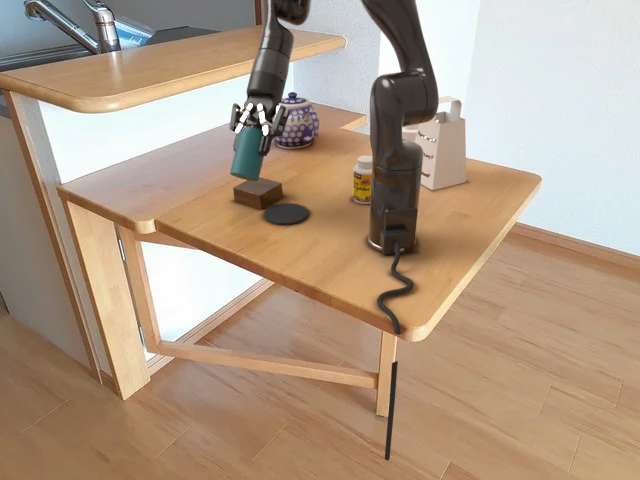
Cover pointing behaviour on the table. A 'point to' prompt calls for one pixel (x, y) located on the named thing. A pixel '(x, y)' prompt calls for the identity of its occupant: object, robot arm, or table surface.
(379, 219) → the robot arm
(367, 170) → the supplement bottle
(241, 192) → the walnut block
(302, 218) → the coaster
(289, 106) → the teapot
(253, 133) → the spray bottle
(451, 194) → the table surface
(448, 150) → the grater
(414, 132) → the white milk carton
